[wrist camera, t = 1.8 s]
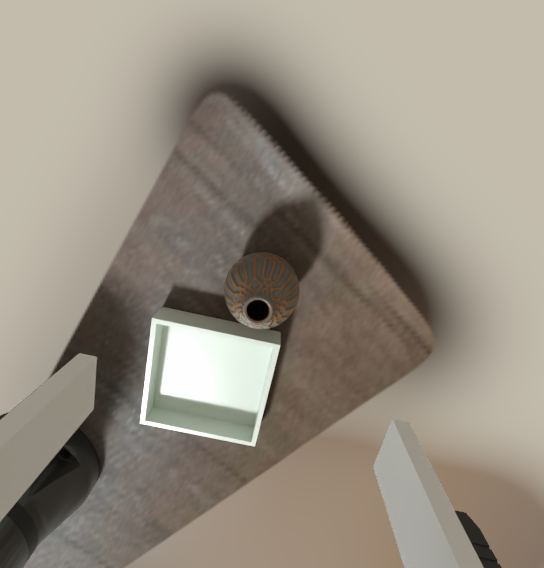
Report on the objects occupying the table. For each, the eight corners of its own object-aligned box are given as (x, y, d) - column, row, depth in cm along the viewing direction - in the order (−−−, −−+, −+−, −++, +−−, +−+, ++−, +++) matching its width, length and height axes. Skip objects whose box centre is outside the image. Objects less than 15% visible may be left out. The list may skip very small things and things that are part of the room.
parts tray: (150, 405, 39) (139, 423, 36) (162, 306, 35) (152, 317, 32) (256, 427, 40) (254, 446, 37) (280, 331, 36) (280, 345, 33)
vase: (241, 236, 33) (226, 256, 24) (306, 257, 33) (314, 284, 25) (223, 298, 35) (204, 336, 26) (285, 317, 35) (286, 360, 27)
